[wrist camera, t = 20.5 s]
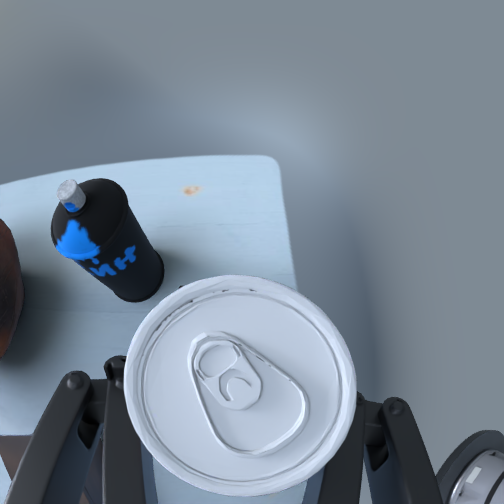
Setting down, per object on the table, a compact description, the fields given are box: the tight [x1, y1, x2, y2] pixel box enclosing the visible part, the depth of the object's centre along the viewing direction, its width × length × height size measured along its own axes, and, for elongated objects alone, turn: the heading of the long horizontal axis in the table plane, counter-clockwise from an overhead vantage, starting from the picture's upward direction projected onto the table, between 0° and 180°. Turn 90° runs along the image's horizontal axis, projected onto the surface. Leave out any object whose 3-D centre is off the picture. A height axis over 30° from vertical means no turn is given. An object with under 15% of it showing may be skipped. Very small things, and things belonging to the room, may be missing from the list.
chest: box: [31, 434, 103, 504], centre depth 20 cm, size 16×13×9 cm
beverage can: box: [124, 275, 357, 497], centre depth 12 cm, size 6×6×15 cm
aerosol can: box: [51, 178, 164, 302], centre depth 27 cm, size 8×8×20 cm
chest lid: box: [0, 435, 94, 504], centre depth 15 cm, size 16×13×1 cm
